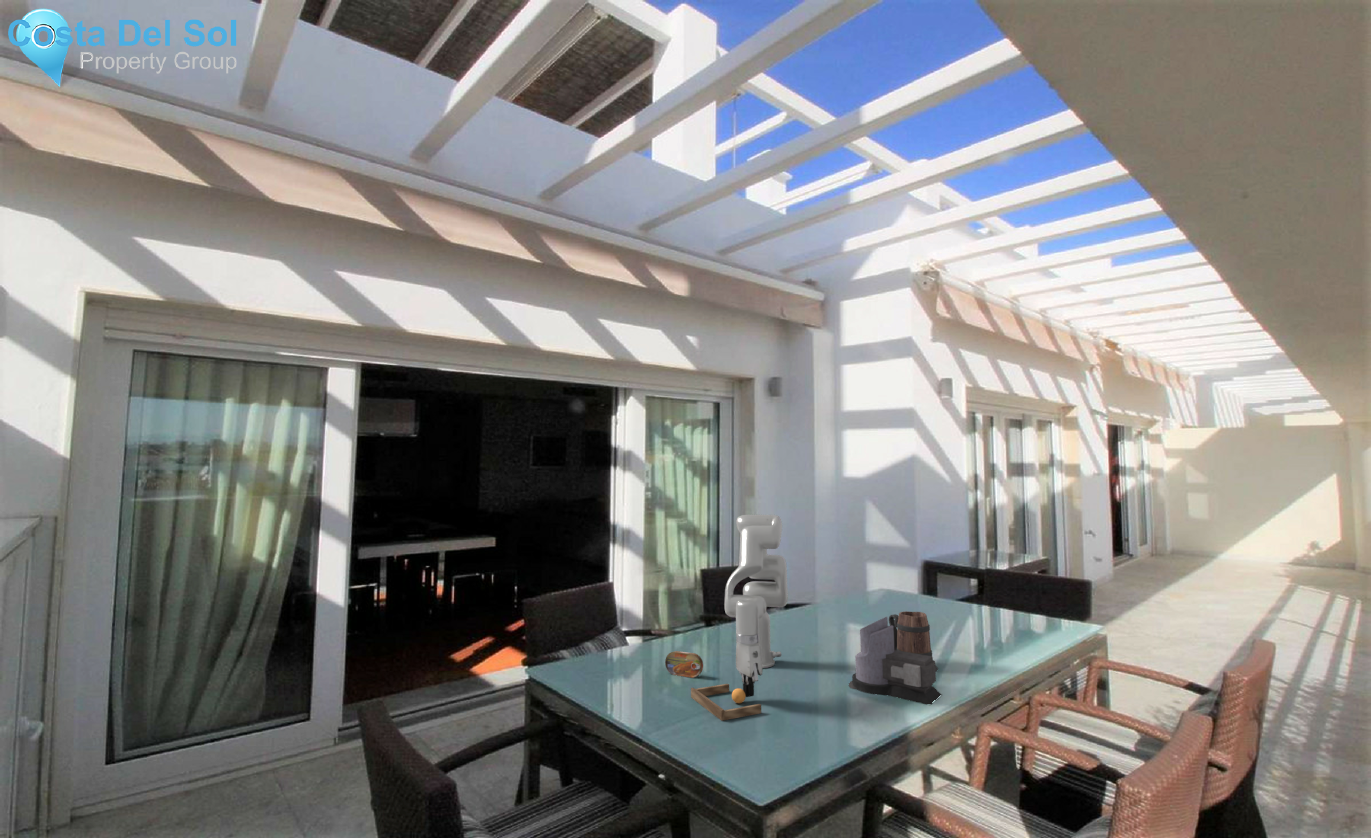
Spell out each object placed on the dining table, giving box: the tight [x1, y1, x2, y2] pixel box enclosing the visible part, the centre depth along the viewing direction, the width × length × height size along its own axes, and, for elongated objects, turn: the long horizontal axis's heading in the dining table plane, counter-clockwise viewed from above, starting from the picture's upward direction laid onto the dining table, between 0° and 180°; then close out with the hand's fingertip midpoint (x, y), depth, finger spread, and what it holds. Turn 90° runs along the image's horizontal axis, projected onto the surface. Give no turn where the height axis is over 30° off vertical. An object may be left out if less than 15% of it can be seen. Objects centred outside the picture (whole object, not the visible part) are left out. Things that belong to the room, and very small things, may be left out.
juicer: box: [848, 616, 942, 705], centre depth 214 cm, size 30×16×24 cm, turn 50°
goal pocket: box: [690, 683, 762, 722], centre depth 200 cm, size 14×22×3 cm, turn 24°
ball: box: [731, 687, 747, 704], centre depth 202 cm, size 4×4×4 cm
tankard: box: [888, 610, 939, 672], centre depth 242 cm, size 24×17×20 cm
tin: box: [664, 650, 704, 679], centre depth 231 cm, size 15×3×8 cm, turn 62°
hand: (748, 695), depth 204 cm, fingers closed
